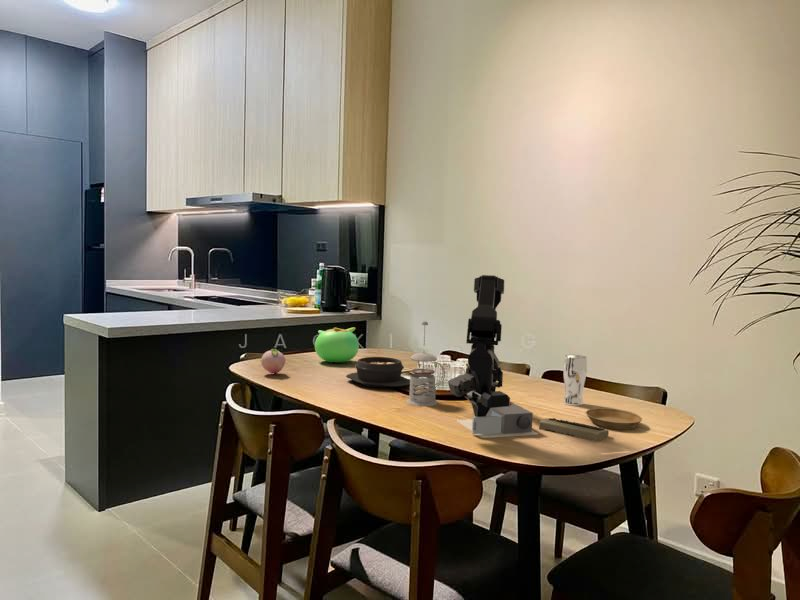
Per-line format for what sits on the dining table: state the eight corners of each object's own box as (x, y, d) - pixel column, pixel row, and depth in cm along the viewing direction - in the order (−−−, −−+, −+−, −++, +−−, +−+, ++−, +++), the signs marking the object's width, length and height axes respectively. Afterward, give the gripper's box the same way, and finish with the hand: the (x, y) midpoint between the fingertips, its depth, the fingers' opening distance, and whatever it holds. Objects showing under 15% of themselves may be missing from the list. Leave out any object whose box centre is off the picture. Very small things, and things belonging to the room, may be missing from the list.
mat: (456, 421, 161) (456, 420, 161) (508, 418, 166) (508, 417, 166) (481, 439, 146) (481, 437, 145) (539, 435, 150) (539, 434, 150)
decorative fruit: (258, 372, 217) (259, 345, 216) (280, 371, 220) (281, 345, 219) (264, 377, 208) (264, 349, 208) (287, 376, 212) (287, 349, 211)
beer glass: (578, 407, 181) (581, 359, 180) (557, 403, 186) (560, 355, 185) (588, 404, 186) (591, 356, 185) (568, 399, 191) (570, 353, 190)
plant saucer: (650, 425, 164) (651, 416, 164) (626, 435, 154) (626, 425, 154) (601, 414, 175) (601, 405, 175) (575, 422, 165) (575, 413, 165)
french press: (402, 398, 185) (405, 319, 183) (438, 398, 187) (441, 319, 185) (409, 406, 175) (412, 322, 173) (447, 405, 178) (450, 323, 176)
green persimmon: (313, 365, 235) (314, 328, 233) (315, 358, 251) (316, 323, 250) (358, 366, 236) (359, 329, 235) (358, 359, 253) (359, 324, 252)
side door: (473, 434, 146) (474, 418, 146) (471, 433, 148) (471, 416, 147) (504, 433, 148) (505, 417, 148) (502, 431, 150) (502, 415, 150)
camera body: (482, 420, 161) (483, 400, 160) (509, 419, 163) (510, 399, 163) (505, 435, 148) (506, 413, 148) (534, 433, 151) (535, 411, 150)
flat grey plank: (608, 438, 152) (609, 425, 152) (598, 445, 146) (599, 432, 145) (550, 426, 162) (551, 414, 161) (538, 432, 155) (539, 419, 155)
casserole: (333, 382, 205) (334, 358, 204) (368, 375, 220) (369, 352, 219) (390, 394, 190) (391, 368, 189) (423, 385, 205) (424, 361, 204)
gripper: (436, 358, 154) (434, 416, 155) (471, 374, 136) (468, 440, 138) (474, 356, 158) (472, 413, 159) (512, 372, 140) (509, 435, 142)
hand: (478, 424), depth 150 cm, fingers closed
